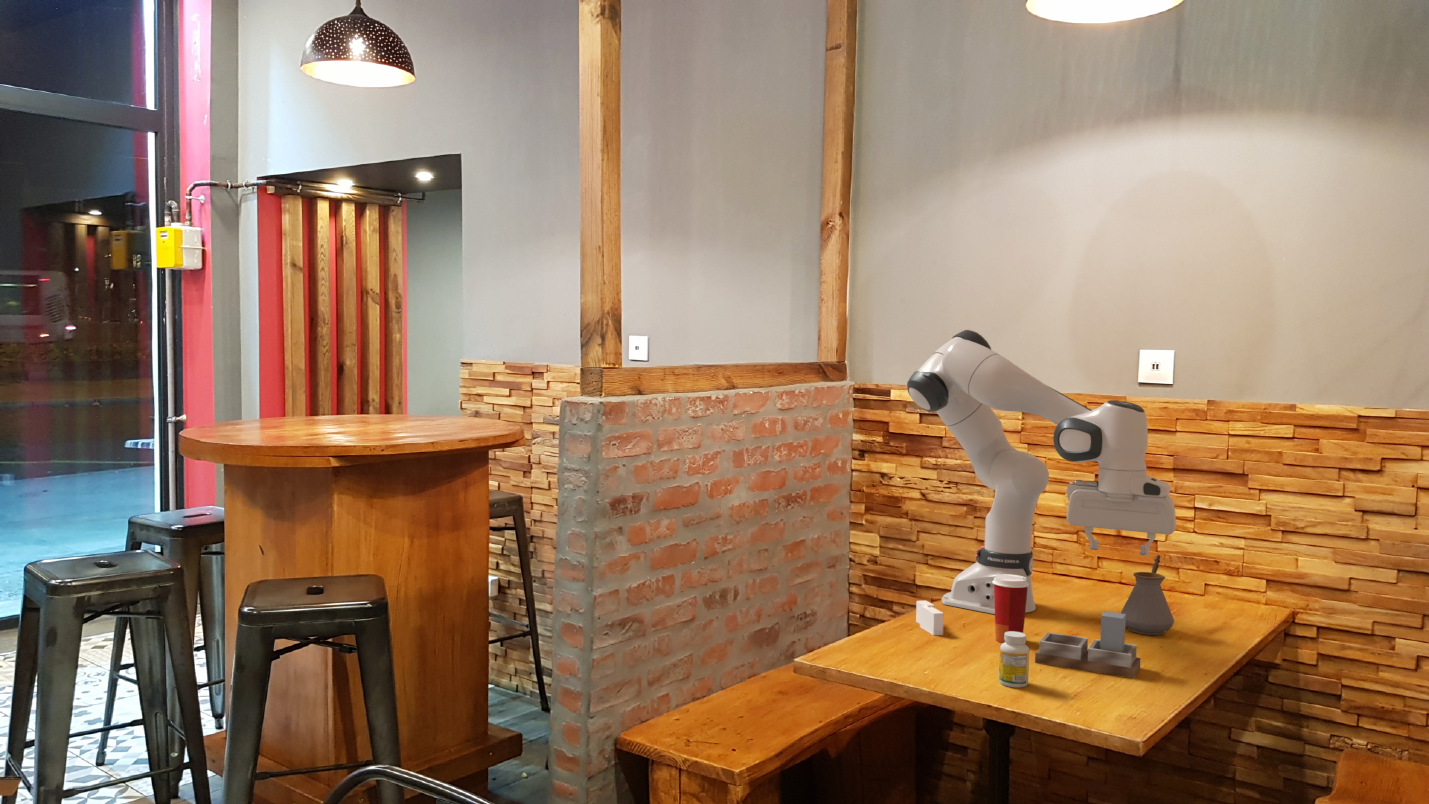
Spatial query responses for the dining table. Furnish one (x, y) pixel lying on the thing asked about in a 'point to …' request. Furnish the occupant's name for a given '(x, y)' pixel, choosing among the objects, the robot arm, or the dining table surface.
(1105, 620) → the gray rectangular block
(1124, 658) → the two-compartment tray
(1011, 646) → the supplement bottle
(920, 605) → the white notched slab
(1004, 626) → the paper cup
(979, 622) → the dining table surface
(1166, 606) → the coffee pot
